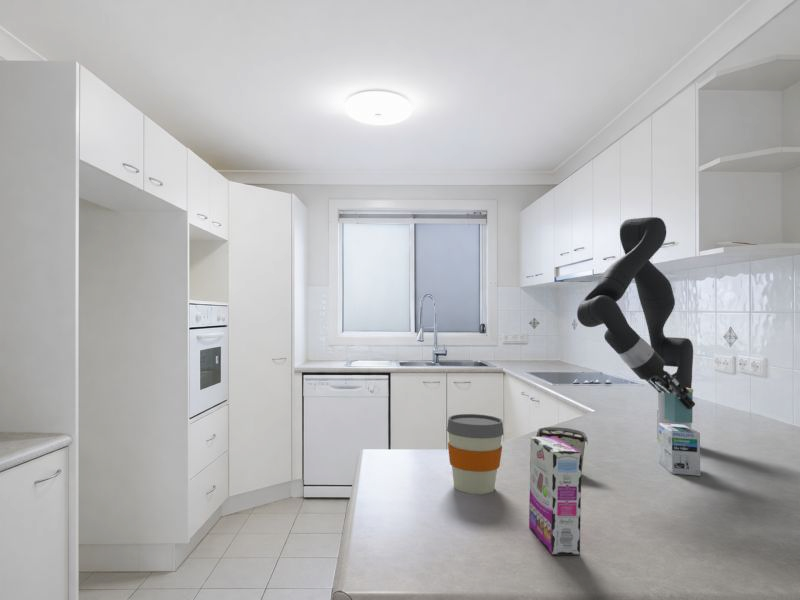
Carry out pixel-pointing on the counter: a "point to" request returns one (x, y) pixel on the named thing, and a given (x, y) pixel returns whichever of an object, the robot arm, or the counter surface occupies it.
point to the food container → (566, 437)
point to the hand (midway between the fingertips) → (685, 404)
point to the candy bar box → (555, 495)
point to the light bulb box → (679, 449)
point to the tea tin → (677, 408)
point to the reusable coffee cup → (474, 451)
